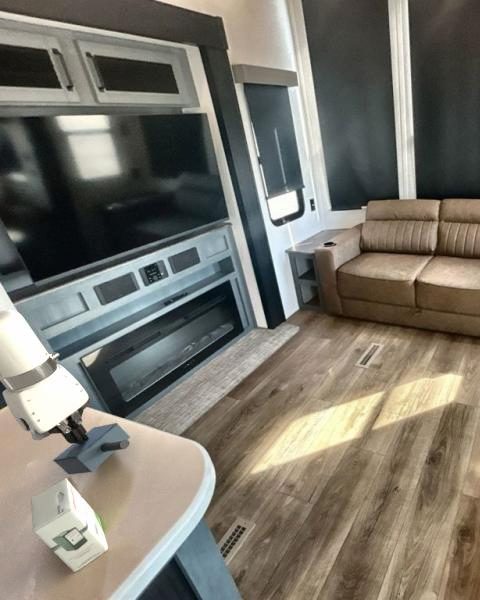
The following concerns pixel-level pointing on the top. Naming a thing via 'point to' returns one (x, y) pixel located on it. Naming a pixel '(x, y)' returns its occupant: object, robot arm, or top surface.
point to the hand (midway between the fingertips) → (80, 440)
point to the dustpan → (93, 449)
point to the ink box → (68, 525)
